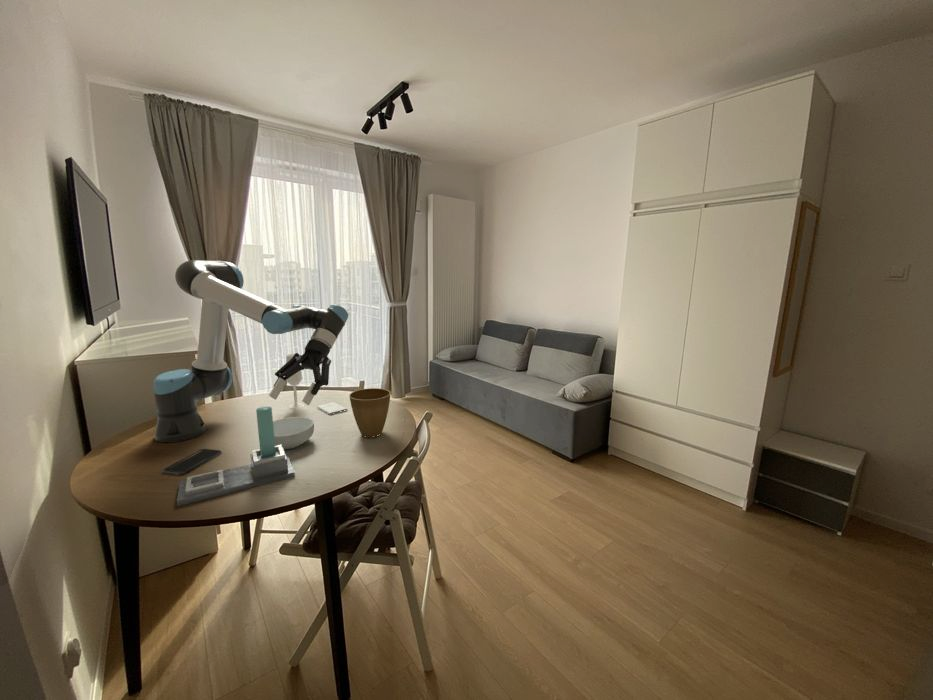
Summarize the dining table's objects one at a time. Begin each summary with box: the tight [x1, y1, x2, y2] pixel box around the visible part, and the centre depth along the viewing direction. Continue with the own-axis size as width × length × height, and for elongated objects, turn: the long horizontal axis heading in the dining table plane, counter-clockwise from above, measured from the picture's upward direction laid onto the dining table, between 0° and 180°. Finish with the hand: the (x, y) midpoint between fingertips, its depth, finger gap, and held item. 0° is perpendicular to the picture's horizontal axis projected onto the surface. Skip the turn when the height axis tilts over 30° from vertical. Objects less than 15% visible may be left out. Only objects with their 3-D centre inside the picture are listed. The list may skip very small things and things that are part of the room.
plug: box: [255, 406, 276, 459], centre depth 112 cm, size 4×4×15 cm
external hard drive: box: [316, 401, 348, 415], centre depth 169 cm, size 2×8×12 cm
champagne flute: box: [285, 353, 305, 409], centre depth 169 cm, size 7×7×24 cm
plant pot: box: [348, 387, 391, 438], centre depth 142 cm, size 15×15×16 cm
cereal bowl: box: [273, 416, 315, 450], centre depth 133 cm, size 17×17×7 cm
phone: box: [162, 448, 222, 476], centre depth 120 cm, size 8×1×15 cm
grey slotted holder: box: [176, 445, 296, 507], centre depth 109 cm, size 28×12×7 cm, turn 123°
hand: (288, 400), depth 118 cm, fingers open, 13 cm apart
